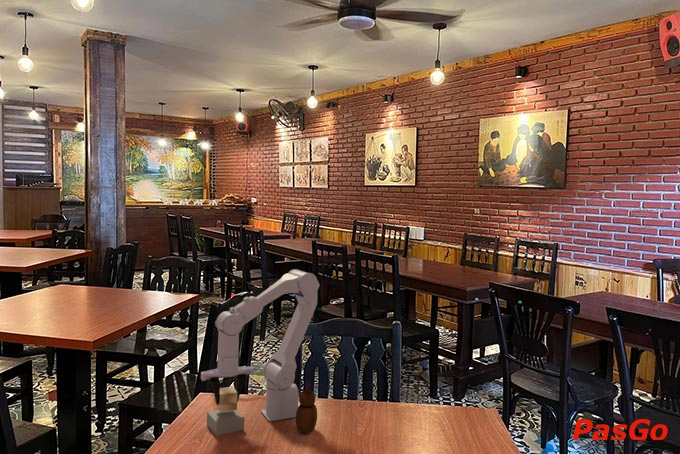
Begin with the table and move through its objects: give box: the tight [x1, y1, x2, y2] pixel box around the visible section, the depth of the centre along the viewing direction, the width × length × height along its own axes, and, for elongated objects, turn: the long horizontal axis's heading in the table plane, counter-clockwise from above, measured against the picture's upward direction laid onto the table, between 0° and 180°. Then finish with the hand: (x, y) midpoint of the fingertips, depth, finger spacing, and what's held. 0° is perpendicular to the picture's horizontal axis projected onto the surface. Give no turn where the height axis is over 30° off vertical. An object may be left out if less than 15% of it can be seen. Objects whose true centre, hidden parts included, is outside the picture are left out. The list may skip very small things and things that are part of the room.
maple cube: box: [215, 386, 238, 412], centre depth 145 cm, size 5×5×5 cm
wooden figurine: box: [295, 380, 318, 435], centre depth 144 cm, size 7×6×15 cm
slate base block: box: [206, 409, 245, 437], centre depth 145 cm, size 8×8×4 cm
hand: (226, 401), depth 145 cm, fingers closed on maple cube, 5 cm apart
